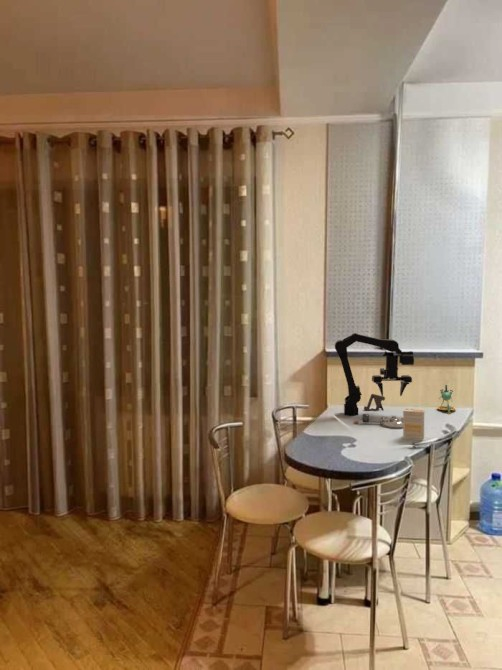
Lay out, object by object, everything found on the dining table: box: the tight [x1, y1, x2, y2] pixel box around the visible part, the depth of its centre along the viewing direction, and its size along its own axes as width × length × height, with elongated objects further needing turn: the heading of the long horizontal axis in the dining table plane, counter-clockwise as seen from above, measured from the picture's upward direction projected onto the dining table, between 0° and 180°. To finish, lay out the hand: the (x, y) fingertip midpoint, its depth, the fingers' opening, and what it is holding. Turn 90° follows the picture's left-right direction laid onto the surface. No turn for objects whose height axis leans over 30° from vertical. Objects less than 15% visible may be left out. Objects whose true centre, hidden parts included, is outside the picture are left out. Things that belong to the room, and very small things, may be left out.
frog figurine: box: [436, 384, 457, 415], centre depth 269 cm, size 10×18×15 cm, turn 154°
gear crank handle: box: [362, 413, 403, 430], centre depth 236 cm, size 20×12×4 cm, turn 77°
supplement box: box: [402, 408, 425, 441], centre depth 214 cm, size 8×5×13 cm, turn 65°
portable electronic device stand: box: [363, 393, 386, 412], centre depth 269 cm, size 9×8×8 cm
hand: (391, 395), depth 254 cm, fingers open, 9 cm apart
